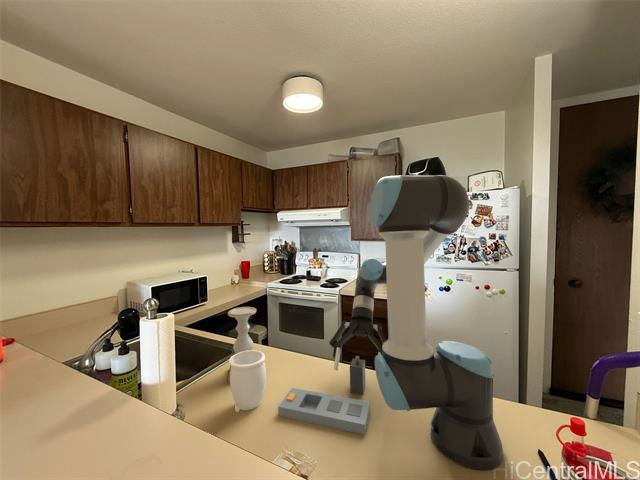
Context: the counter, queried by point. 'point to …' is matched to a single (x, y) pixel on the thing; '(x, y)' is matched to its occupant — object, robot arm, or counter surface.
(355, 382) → the block
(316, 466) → the counter surface
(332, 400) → the power strip
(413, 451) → the counter surface
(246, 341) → the candle holder
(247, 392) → the jar
